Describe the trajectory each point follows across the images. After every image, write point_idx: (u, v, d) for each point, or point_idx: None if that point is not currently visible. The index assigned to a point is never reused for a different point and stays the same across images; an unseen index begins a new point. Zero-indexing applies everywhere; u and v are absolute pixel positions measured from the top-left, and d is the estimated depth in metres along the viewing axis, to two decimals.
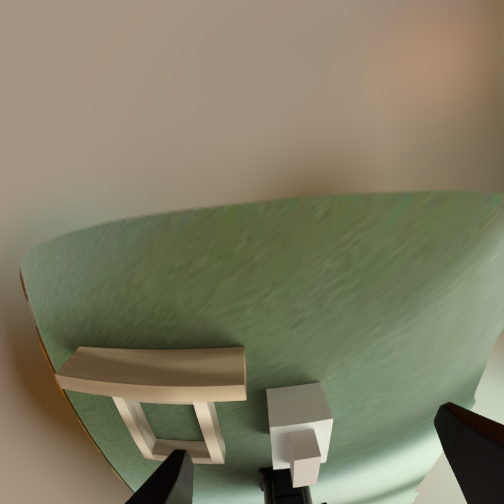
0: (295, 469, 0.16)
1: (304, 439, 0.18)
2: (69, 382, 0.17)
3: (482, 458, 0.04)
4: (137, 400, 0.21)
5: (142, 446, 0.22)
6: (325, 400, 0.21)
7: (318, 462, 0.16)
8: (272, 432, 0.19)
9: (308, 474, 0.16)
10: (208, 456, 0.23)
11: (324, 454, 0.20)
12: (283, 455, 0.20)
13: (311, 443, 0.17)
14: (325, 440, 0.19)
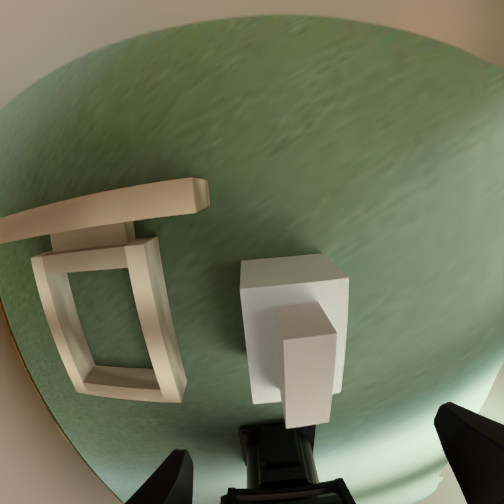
0: (287, 371, 0.10)
1: (301, 313, 0.12)
2: None
3: (482, 458, 0.04)
4: (59, 270, 0.14)
5: (70, 366, 0.16)
6: (332, 264, 0.15)
7: (332, 353, 0.10)
8: (244, 303, 0.13)
9: (313, 391, 0.10)
10: (157, 387, 0.17)
11: (338, 373, 0.14)
12: (268, 368, 0.13)
13: (315, 317, 0.11)
14: (339, 335, 0.13)
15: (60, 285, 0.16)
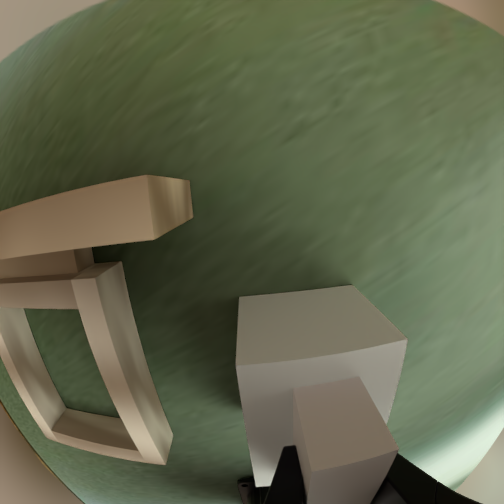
0: (312, 497, 0.05)
1: (337, 404, 0.06)
2: None
3: None
4: (4, 304, 0.09)
5: (34, 412, 0.11)
6: (374, 309, 0.09)
7: (384, 470, 0.04)
8: (244, 384, 0.07)
9: None
10: (135, 447, 0.11)
11: None
12: (277, 455, 0.08)
13: (360, 413, 0.06)
14: (381, 412, 0.08)
15: (13, 318, 0.11)
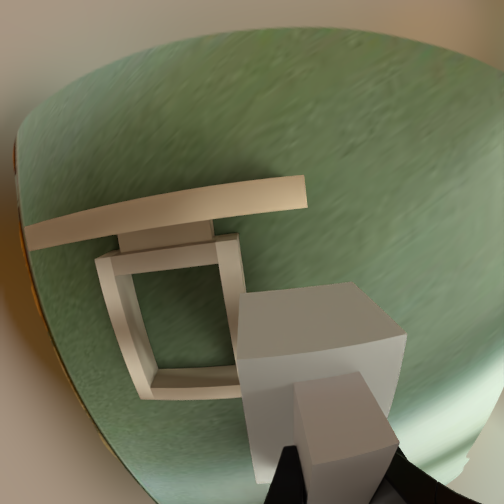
0: (313, 491, 0.05)
1: (338, 398, 0.06)
2: (40, 232, 0.12)
3: None
4: (133, 270, 0.16)
5: (136, 372, 0.17)
6: (374, 305, 0.09)
7: (384, 464, 0.05)
8: (244, 379, 0.07)
9: (347, 500, 0.05)
10: (235, 383, 0.18)
11: None
12: (278, 452, 0.08)
13: (360, 408, 0.06)
14: (381, 408, 0.08)
15: (127, 287, 0.17)
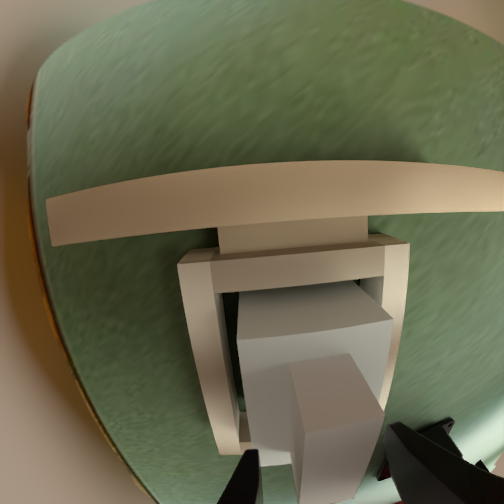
0: (307, 463, 0.06)
1: (329, 375, 0.07)
2: (82, 210, 0.07)
3: (426, 489, 0.04)
4: (252, 285, 0.10)
5: (223, 426, 0.12)
6: (364, 294, 0.10)
7: (373, 438, 0.05)
8: (244, 359, 0.08)
9: (340, 476, 0.06)
10: None
11: None
12: (275, 432, 0.09)
13: (349, 384, 0.07)
14: (372, 391, 0.09)
15: (220, 308, 0.12)
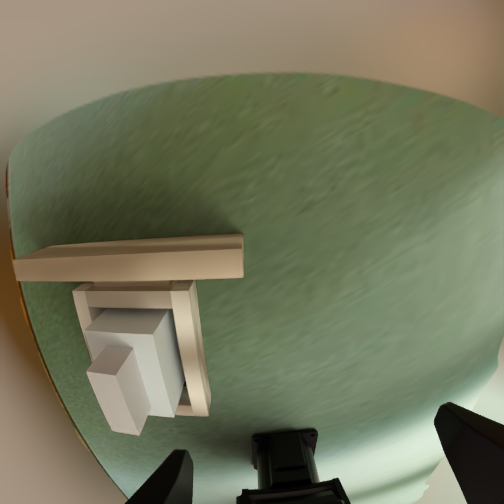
0: (95, 391, 0.13)
1: (114, 354, 0.14)
2: (26, 268, 0.14)
3: (482, 458, 0.04)
4: (103, 305, 0.17)
5: None
6: (161, 317, 0.17)
7: (118, 388, 0.13)
8: (88, 340, 0.15)
9: (117, 409, 0.13)
10: (188, 403, 0.19)
11: (165, 402, 0.16)
12: None
13: (117, 360, 0.14)
14: (156, 374, 0.16)
15: (99, 315, 0.19)
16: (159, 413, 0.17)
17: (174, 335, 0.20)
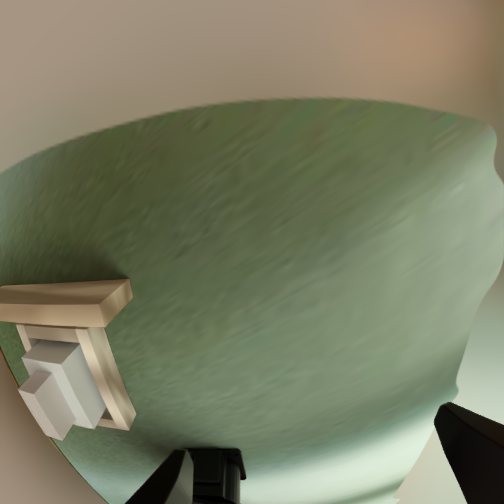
0: (27, 404, 0.13)
1: (38, 377, 0.15)
2: None
3: (482, 458, 0.04)
4: (36, 337, 0.18)
5: None
6: (73, 349, 0.18)
7: (37, 403, 0.13)
8: (25, 364, 0.16)
9: (42, 419, 0.14)
10: (111, 418, 0.20)
11: (84, 416, 0.17)
12: None
13: (39, 382, 0.14)
14: (71, 394, 0.16)
15: None
16: (83, 425, 0.17)
17: None
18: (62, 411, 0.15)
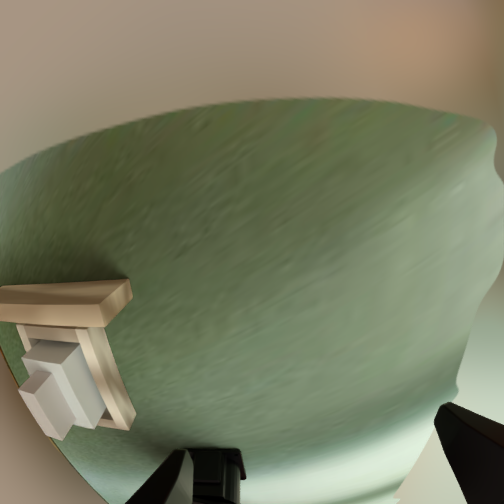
0: (27, 404, 0.13)
1: (38, 377, 0.15)
2: None
3: (482, 458, 0.04)
4: (36, 337, 0.18)
5: None
6: (73, 349, 0.18)
7: (37, 403, 0.13)
8: (25, 364, 0.16)
9: (42, 419, 0.14)
10: (111, 418, 0.20)
11: (84, 416, 0.17)
12: None
13: (38, 382, 0.14)
14: (71, 394, 0.16)
15: None
16: (83, 425, 0.17)
17: None
18: (62, 411, 0.15)
